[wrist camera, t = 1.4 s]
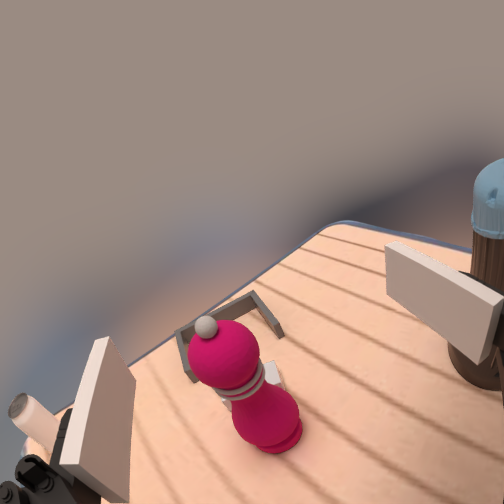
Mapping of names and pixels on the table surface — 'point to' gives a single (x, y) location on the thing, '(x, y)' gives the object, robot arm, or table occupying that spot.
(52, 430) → the can
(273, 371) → the white block
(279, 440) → the pepper mill
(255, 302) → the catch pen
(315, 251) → the table surface
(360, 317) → the table surface
